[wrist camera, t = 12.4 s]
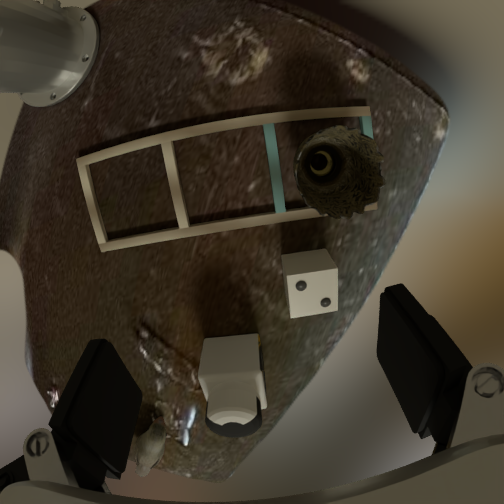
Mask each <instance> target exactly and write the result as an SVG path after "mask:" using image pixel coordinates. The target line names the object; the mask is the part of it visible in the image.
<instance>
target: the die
mask: <svg viewBox="0 0 504 504" xmlns="http://www.w3.org/2000/svg"><path fill="white" fill-rule="evenodd" d="M281 259H282V268H283V277H284V286H285V295H286V299H287V304H288V308H289V312H290V317H291V318H296V317H302V316H309V315H315V314H321V313H327V312H333V311H338V268H337V266H336V265H335V263H334V261H333V260H332V258H331V257H330V255H329V253H328V252H327V250H326V249H319V250H312V251H305V252H298V253H291V254H283V255H281Z"/></svg>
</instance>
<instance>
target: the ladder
mask: <svg viewBox="0 0 504 504" xmlns="http://www.w3.org/2000/svg"><path fill="white" fill-rule="evenodd" d="M354 116H359V120H360V128H361V133H362V134H365V135H367V136H369V137H371V138H372V139H373V132H372V122H371V114H370V106H366V107H336V108H319V109H306V110H295V111H285V112H276V113H268V114H260V115H253V116H246V117H240V118H233V119H228V120H222V121H216V122H211V123H206V124H201V125H196V126H191V127H186V128H182V129H177V130H173V131H169V132H165V133H161V134H157V135H153V136H149V137H145V138H141V139H138V140H134V141H131V142H127V143H124V144H120V145H117V146H114V147H110V148H107V149H104V150H101V151H98V152H95V153H92V154H89V155H86V156H83V157H80V158H78V159H76V161H77V165H78V170H79V174H80V179H81V183H82V187H83V191H84V195H85V199H86V202H87V206H88V210H89V213H90V217H91V220H92V224H93V227H94V231H95V234H96V237H97V240H98V243H99V246H100V249H101V252H104V251H110V250H115V249H121V248H126V247H132V246H137V245H143V244H149V243H154V242H160V241H166V240H172V239H178V238H184V237H190V236H196V235H202V234H208V233H214V232H220V231H227V230H233V229H240V228H246V227H253V226H259V225H266V224H273V223H279V222H286V221H293V220H300V219H307V218H314V217H322V216H321V215H320V214H319V213H318V212H317V211H316V210H315V209H311V208H309V207H302V208H295V209H288V210H286V209H285V201H284V194H283V186H282V178H281V171H280V164H279V156H278V149H277V143H276V136H275V129H274V123H278V122H287V121H297V120H307V119H319V118H334V117H354ZM255 125H263V130H264V137H265V143H266V150H267V156H268V163H269V170H270V177H271V184H272V191H273V198H274V206H275V211H274V212H267V213H261V214H254V215H247V216H241V217H235V218H228V219H222V220H216V221H210V222H204V223H198V224H192V225H190V222H189V218H188V214H187V209H186V204H185V200H184V195H183V190H182V186H181V181H180V176H179V171H178V166H177V161H176V156H175V151H174V145H173V141H174V140H179V139H183V138H188V137H193V136H197V135H202V134H208V133H213V132H218V131H224V130H230V129H236V128H242V127H249V126H255ZM157 144H161V145H162V151H163V156H164V161H165V166H166V170H167V175H168V180H169V185H170V189H171V194H172V198H173V203H174V207H175V212H176V216H177V220H178V224H179V227H175V228H169V229H164V230H158V231H153V232H148V233H142V234H137V235H132V236H127V237H121V238H116V239H111V240H108V237H107V233H106V230H105V227H104V223H103V220H102V216H101V213H100V209H99V205H98V201H97V198H96V194H95V190H94V186H93V181H92V177H91V173H90V168H89V164H91V163H94V162H97V161H100V160H103V159H107V158H110V157H113V156H117V155H120V154H123V153H127V152H131V151H134V150H138V149H142V148H145V147H149V146H153V145H157ZM375 209H377V202H376V203H374V204H372V205H368V206H366V207H365V210H364V211H367V210H375ZM325 216H328V215H327V214H326V215H325Z"/></svg>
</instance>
